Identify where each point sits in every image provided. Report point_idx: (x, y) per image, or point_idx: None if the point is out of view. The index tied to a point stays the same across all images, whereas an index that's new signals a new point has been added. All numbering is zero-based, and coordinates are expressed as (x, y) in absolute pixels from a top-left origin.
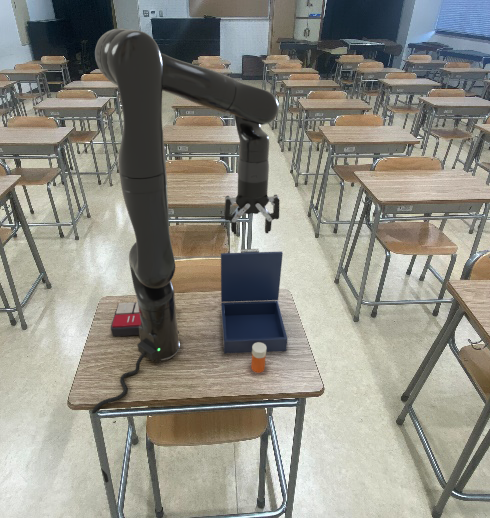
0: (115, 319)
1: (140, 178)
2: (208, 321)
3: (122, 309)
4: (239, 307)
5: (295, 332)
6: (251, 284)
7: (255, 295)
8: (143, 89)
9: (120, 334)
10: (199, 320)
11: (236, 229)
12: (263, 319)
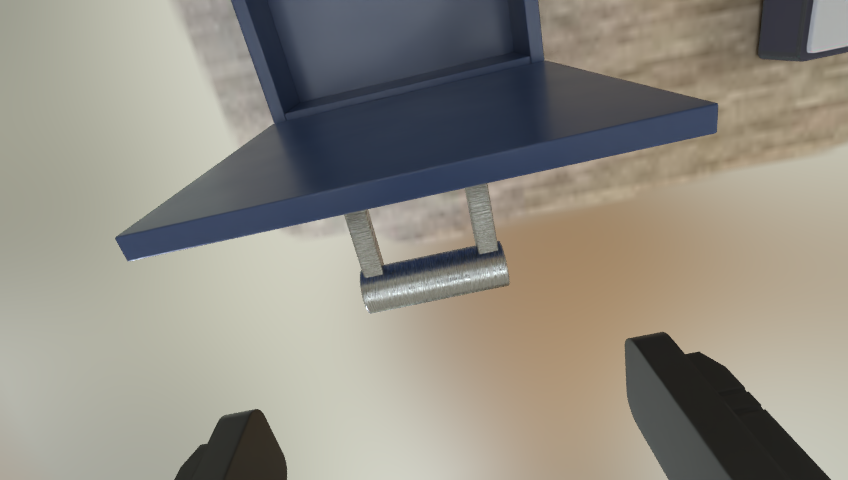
0: None
1: None
2: (578, 13)
3: None
4: (452, 71)
5: (195, 8)
6: (400, 111)
7: (378, 104)
8: None
9: None
10: (618, 13)
11: (667, 385)
12: (340, 57)
